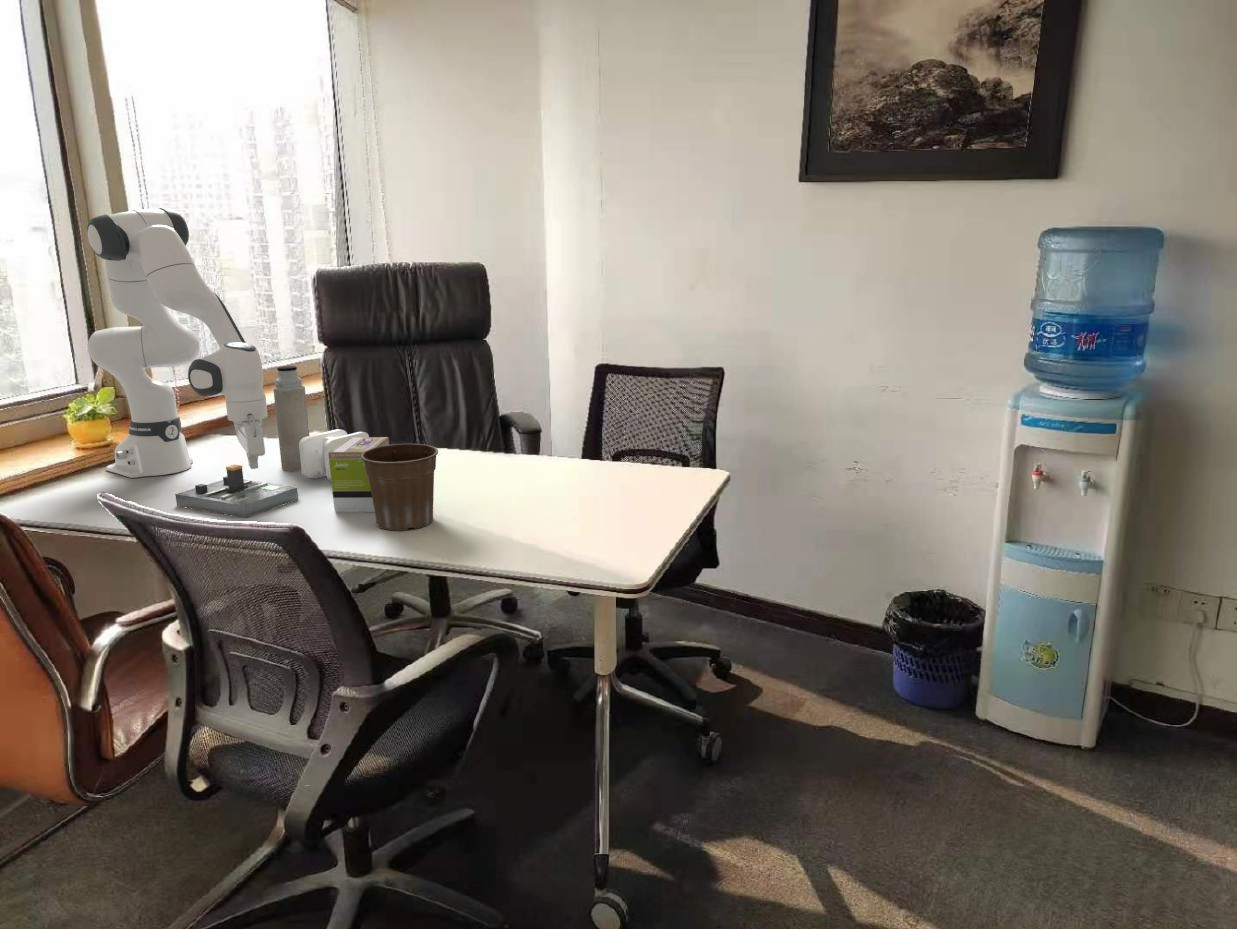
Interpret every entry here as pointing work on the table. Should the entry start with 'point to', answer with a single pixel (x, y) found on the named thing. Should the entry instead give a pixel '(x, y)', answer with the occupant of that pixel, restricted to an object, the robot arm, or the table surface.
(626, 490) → the table surface
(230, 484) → the breaker lever
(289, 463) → the thermos bottle
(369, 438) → the tea box
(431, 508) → the plant pot
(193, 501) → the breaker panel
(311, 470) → the cable organizer
